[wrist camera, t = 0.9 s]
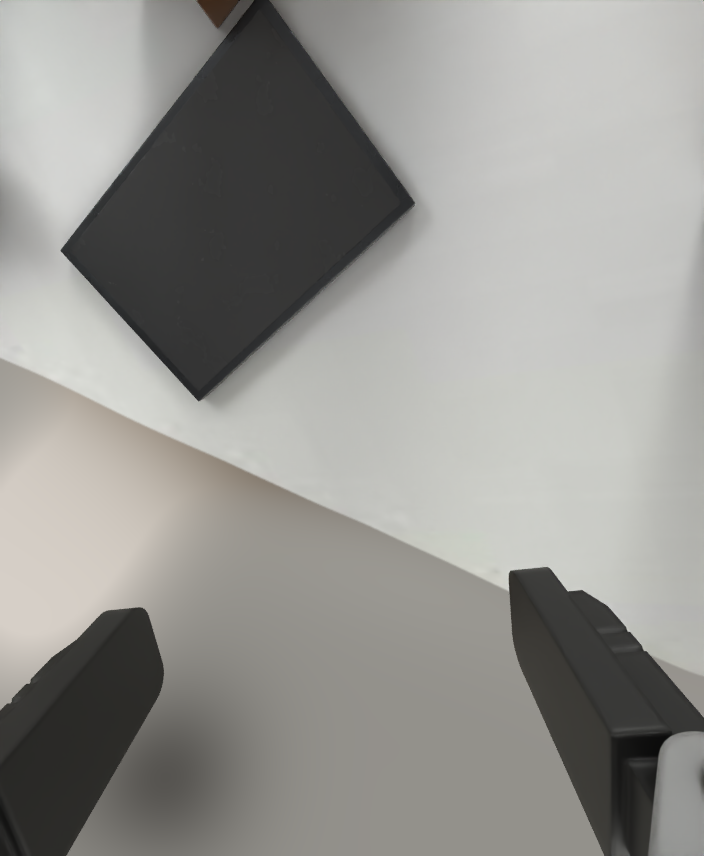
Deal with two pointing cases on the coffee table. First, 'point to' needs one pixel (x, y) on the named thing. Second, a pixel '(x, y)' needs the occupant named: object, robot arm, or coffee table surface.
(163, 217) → the tablet
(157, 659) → the robot arm
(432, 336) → the coffee table surface
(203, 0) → the stand
